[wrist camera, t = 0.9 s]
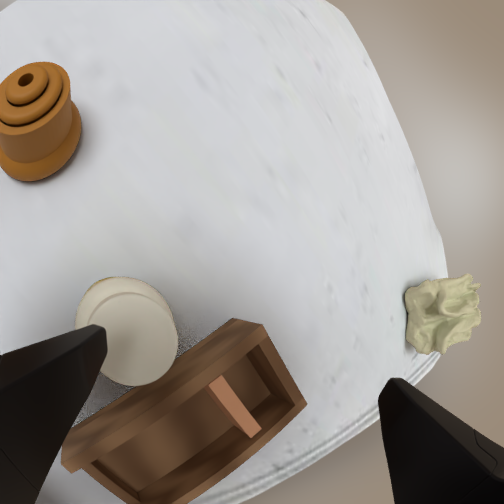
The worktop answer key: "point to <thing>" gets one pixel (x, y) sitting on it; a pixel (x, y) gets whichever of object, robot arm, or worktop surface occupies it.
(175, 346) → the supplement bottle
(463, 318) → the wavy plaster lump
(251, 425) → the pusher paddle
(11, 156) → the ornamental finial
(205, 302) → the worktop surface
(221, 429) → the pusher lane
